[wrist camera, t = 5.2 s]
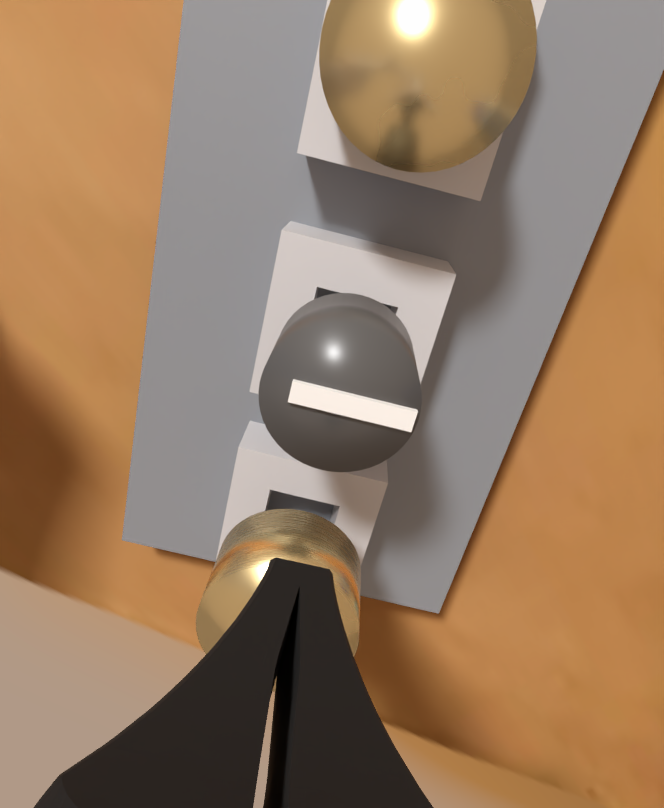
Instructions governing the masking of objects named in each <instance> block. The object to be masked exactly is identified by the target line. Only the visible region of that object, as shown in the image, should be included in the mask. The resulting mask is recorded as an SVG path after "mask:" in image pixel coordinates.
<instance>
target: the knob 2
mask: <svg viewBox="0 0 664 808" xmlns="http://www.w3.org/2000/svg"><path fill="white" fill-rule="evenodd" d="M536 47H537V32H536V20H535V15H534V10H533V5H532V2H531V0H331V1H330V4H329V6H328V9H327V12H326V15H325V19H324V22H323V26H322V31H321V38H320V47H319V66H320V77H321V82H322V87H323V92H324V95H325V98H326V101H327V104H328V107H329V109H330V111H331V113H332V115H333V117H334V119H335V121H336V123H337V124H338V126H339V127H340V129H341V131H342V132H343V133H344V134H345V136H346V137H347V138H348V139H349V140H350V142H351V143H352V144H353V145H354V146H356V147H357V148H358V149H359V150H360V151H361V152H362V153H364V154H365V155H367V156H368V157H369V158H371V159H372V160H374V161H376V162H378V163H380V164H382V165H384V166H387V167H390V168H393V169H396V170H401V171H406V172H419V173H424V172H435V171H440V170H444V169H448V168H451V167H454V166H456V165H459V164H462V163H464V162H466V161H467V160H469V159H471V158H473V157H475V156H476V155H478V154H479V153H480V152H482V151H483V150H485V149H486V148H487V147H488V146H489V145H490V144H492V143H493V142H494V141H495V140H496V139H497V138H498V137H499V136H500V135H501V133H502V132H503V131H504V130H505V129H506V128H507V127H508V125H509V124H510V122H511V121H512V119H513V118H514V116H515V115H516V113H517V111H518V109H519V108H520V106H521V104H522V102H523V100H524V98H525V95H526V93H527V90H528V87H529V85H530V81H531V78H532V74H533V70H534V64H535V58H536Z"/></svg>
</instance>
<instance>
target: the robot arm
mask: <svg viewBox="0 0 664 808" xmlns="http://www.w3.org/2000/svg"><path fill="white" fill-rule="evenodd" d="M276 676H277V679H276ZM275 680H276V690H275V701H274V711H273V722H272V733H271V744H270V755H269V766H268V777H267V784H266V792H265V800H264V806H263V808H433V807H432V805H431V804H430V802H429V801H428V799H427V798H426V796H425V795H424V793H423V792H422V790H421V789H420V788H419V786H418V784H417V783H416V781H415V779H414V778H413V776H412V774H411V773H410V771H409V769H408V768H407V766H406V764H405V763H404V761H403V759H402V758H401V756H400V754H399V753H398V751H397V750H396V748H395V746H394V744H393V743H392V741H391V739H390V737H389V735H388V733H387V731H386V729H385V727H384V725H383V724H382V722H381V720H380V717H379V715H378V713H377V711H376V709H375V707H374V705H373V703H372V701H371V698H370V696H369V694H368V692H367V689H366V687H365V685H364V682H363V680H362V677H361V675H360V672H359V669H358V667H357V664H356V662H355V659H354V656H353V653H352V650H351V647H350V644H349V641H348V638H347V635H346V632H345V629H344V625H343V622H342V618H341V614H340V610H339V606H338V602H337V598H336V593H335V587H334V581H333V574H332V572H331V571H330V569H327V568H322V567H318V566H313V565H309V564H304V563H300V562H295V561H291V560H286V559H281V558H277V557H276V558H274V559H272V560H270V562H269V565H268V568H267V570H266V572H265V574H264V576H263V578H262V580H261V582H260V583H259V585H258V587H257V588H256V590H255V592H254V593H253V595H252V596H251V598H250V599H249V601H248V602H247V604H246V605H245V607H244V608H243V609H242V611H241V612H240V614H239V615H238V617H237V618H236V619H235V621H234V622H233V623H232V624H231V626H230V627H229V628H228V629H227V631H226V632H225V633H224V634H223V635H222V637H221V638H220V639H219V640H218V642H217V643H216V644H215V645H214V646H213V648H212V649H211V650H210V651H209V652H208V653H207V654H206V655H205V657H204V658H203V659H202V660H201V661H200V662H199V663H198V664H197V665H196V666H195V667H194V668H193V669H192V670H191V671H190V672H189V673H188V674H187V675H186V676H185V677H184V678H183V679H182V680H181V681H180V682H179V683H178V684H177V685H176V686H175V687H174V688H173V689H172V690H171V691H170V692H168V693H167V694H166V695H165V696H164V697H163V698H162V699H161V700H160V701H159V702H157V703H156V704H155V705H154V706H153V707H152V708H151V709H149V710H148V711H147V712H146V713H145V714H143V715H142V716H141V717H139V718H138V719H137V720H136V721H134V722H133V723H132V724H131V725H129V726H128V727H127V728H126V729H124V730H123V731H122V732H120V733H119V734H118V735H117V736H115V737H114V738H113V739H111V740H110V741H109V742H107V743H106V744H105V745H103V746H102V747H100V748H99V749H97V750H96V751H94V752H93V753H91V754H90V755H89V756H87V757H85V758H84V759H82V760H81V761H80V762H78V763H77V764H75V765H74V766H72V767H71V768H69V769H68V770H66V771H65V772H63V773H62V774H60V775H59V776H58V777H57V779H56V780H55V781H54V782H53V784H52V785H51V786H50V787H49V789H48V790H47V791H46V792H45V794H44V795H43V796H42V797H41V799H40V800H39V801H38V803H37V804H36V805H35V807H34V808H253V803H254V797H255V789H256V783H257V776H258V770H259V763H260V757H261V751H262V744H263V738H264V732H265V725H266V720H267V714H268V707H269V701H270V697H271V694H272V690H273V687H274V683H275Z"/></svg>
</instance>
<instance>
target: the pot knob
mask: <svg viewBox="0 0 664 808" xmlns="http://www.w3.org/2000/svg"><path fill="white" fill-rule="evenodd" d="M258 392H259V407H260V412H261V416H262V419H263V422H264V424H265V426H266V428H267V430H268V432H269V433H270V435H271V437H272V438H273V439H274V440H275V442H276V443H277V444H278V445H279V446H280V447H281V448H282V449H283V450H284V451H285V452H286V453H288V454H289V455H290V456H292V457H293V458H294V459H296V460H298V461H300V462H301V463H303V464H306V465H308V466H310V467H313V468H317V469H320V470H325V471H330V472H353V471H359V470H364V469H367V468H371V467H373V466H375V465H378V464H380V463H382V462H384V461H385V460H387V459H389V458H390V457H391V456H393V455H394V454H395V453H397V452H398V451H399V450H400V449H401V448H402V447H403V446H404V445H405V443H406V442H407V441H408V440H409V438H410V437H411V435H412V433H413V432H414V430H415V428H416V425H417V423H418V420H419V416H420V413H421V406H422V391H421V385H420V380H419V375H418V370H417V365H416V360H415V355H414V350H413V345H412V342H411V339H410V336H409V334H408V331H407V329H406V327H405V326H404V324H403V323H402V321H401V320H400V319H399V318H398V317H397V316H396V314H395V313H394V312H392V311H391V310H390V309H389V308H388V307H386V306H385V305H383V304H382V303H380V302H378V301H376V300H374V299H372V298H369V297H366V296H363V295H359V294H353V293H335V294H329V295H325V296H322V297H319V298H316V299H314V300H312V301H310V302H308V303H306V304H305V305H304V306H302V307H301V308H299V309H298V310H297V311H296V312H295V313H294V314H293V315H292V316H291V317H290V319H289V320H288V321H287V323H286V324H285V326H284V328H283V329H282V331H281V334H280V336H279V338H278V340H277V342H276V344H275V346H274V348H273V350H272V352H271V355H270V357H269V359H268V361H267V363H266V365H265V367H264V370H263V372H262V375H261V379H260V384H259V391H258Z"/></svg>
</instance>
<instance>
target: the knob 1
mask: <svg viewBox="0 0 664 808" xmlns="http://www.w3.org/2000/svg"><path fill="white" fill-rule="evenodd" d="M276 557H277V558H281V559H286V560H291V561H295V562H300V563H304V564H309V565H313V566H318V567H322V568H327V569H330V571H331V572H332V574H333V581H334V587H335V593H336V598H337V602H338V606H339V610H340V614H341V618H342V622H343V625H344V629H345V632H346V635H347V638H348V641H349V644H350V647H351V650H352V653H353V656H355V654H356V651H357V648H358V644H359V627H360V586H361V566H360V560H359V556H358V553H357V551H356V549H355V547H354V545H353V544H352V542H351V540H350V539H349V538H348V537H347V535H346V534H345V533H344V532H343V531H342V530H341V529H340V528H338V527H337V526H336V525H334V524H333V523H332V522H330V521H328V520H326V519H325V518H323V517H320V516H318V515H316V514H313V513H309V512H306V511H301V510H296V509H273V510H267V511H263V512H259V513H256V514H254V515H252V516H249V517H247V518H246V519H244V520H242V521H241V522H240V523H238V524H237V525H236V526H235V527H234V528H233V529H232V530H231V531H230V532H229V533H228V535H227V536H226V538H225V539H224V541H223V543H222V546H221V548H220V551H219V554H218V556H217V559H216V562H215V564H214V567H213V570H212V572H211V575H210V578H209V581H208V583H207V586H206V589H205V591H204V594H203V597H202V599H201V602H200V605H199V608H198V611H197V615H196V631H197V636H198V639H199V642H200V644H201V647H202V648H203V650H204V652H205V653H206V654H207V653H208V652H209V651H210V650H211V649H212V648H213V646H214V645H215V644H216V643H217V642H218V640H219V639H220V638H221V637H222V635H223V634H224V633H225V632H226V631H227V629H228V628H229V627H230V626H231V624H232V623H233V622H234V621H235V619H236V618H237V617H238V615H239V614H240V612H241V611H242V609H243V608H244V607H245V605H246V604H247V602H248V601H249V599H250V598H251V596H252V595H253V593H254V592H255V590H256V588H257V587H258V585H259V583H260V582H261V580H262V578H263V576H264V574H265V572H266V570H267V568H268V565H269V562H270V560H272V559H274V558H276ZM276 679H277V676H276ZM275 690H276V680H275V683H274V687H273V690H272V691H275Z"/></svg>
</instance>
